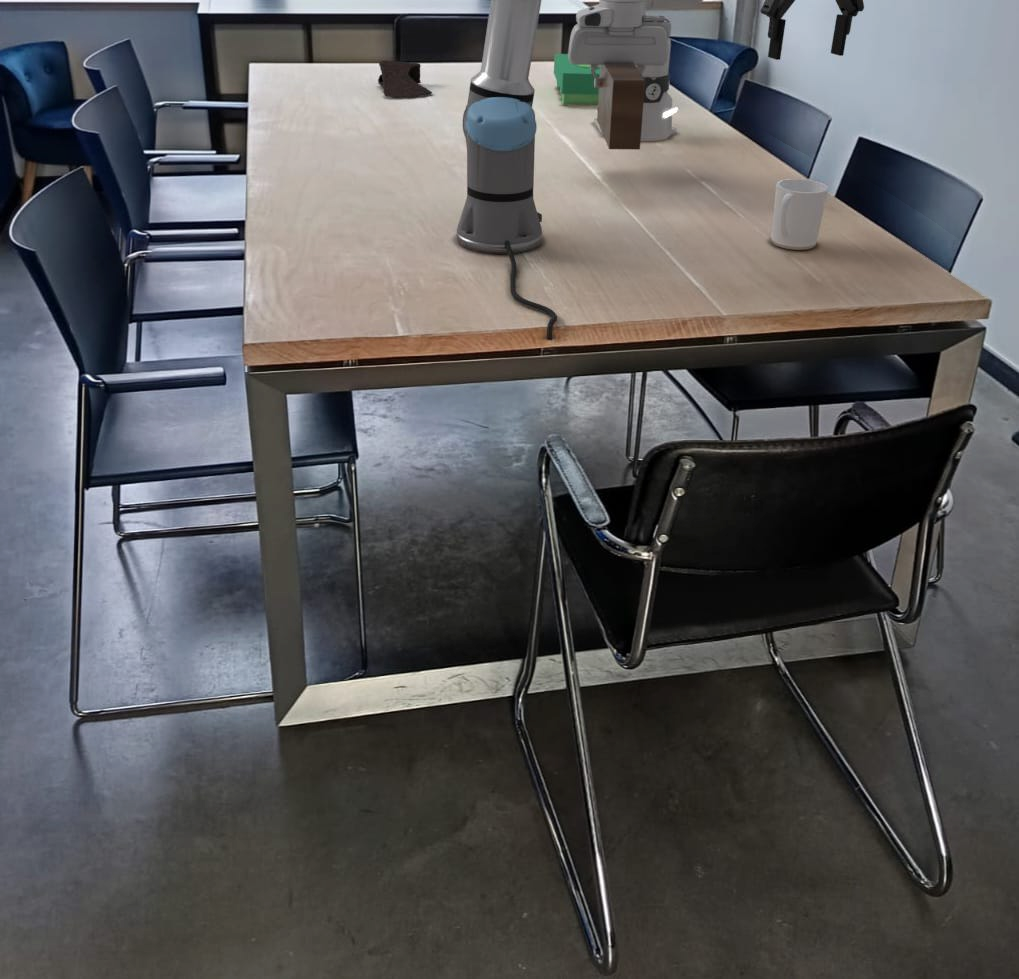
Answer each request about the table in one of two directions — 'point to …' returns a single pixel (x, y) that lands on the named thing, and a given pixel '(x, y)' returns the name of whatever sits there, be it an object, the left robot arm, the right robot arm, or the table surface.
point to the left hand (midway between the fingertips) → (805, 56)
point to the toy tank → (575, 82)
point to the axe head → (401, 79)
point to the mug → (798, 213)
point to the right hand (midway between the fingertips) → (615, 87)
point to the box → (621, 105)
